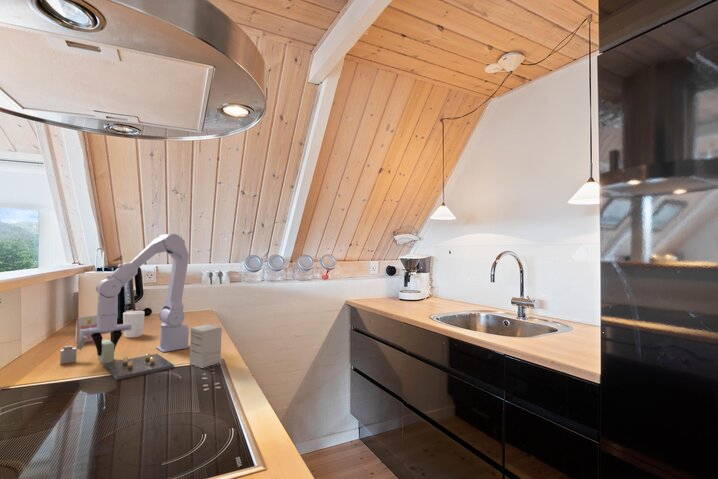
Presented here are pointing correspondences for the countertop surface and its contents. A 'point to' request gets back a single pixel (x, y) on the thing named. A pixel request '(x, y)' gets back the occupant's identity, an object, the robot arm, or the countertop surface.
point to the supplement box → (205, 345)
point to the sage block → (107, 351)
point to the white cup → (134, 323)
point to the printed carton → (85, 326)
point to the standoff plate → (137, 366)
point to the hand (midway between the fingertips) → (105, 353)
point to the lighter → (71, 352)
